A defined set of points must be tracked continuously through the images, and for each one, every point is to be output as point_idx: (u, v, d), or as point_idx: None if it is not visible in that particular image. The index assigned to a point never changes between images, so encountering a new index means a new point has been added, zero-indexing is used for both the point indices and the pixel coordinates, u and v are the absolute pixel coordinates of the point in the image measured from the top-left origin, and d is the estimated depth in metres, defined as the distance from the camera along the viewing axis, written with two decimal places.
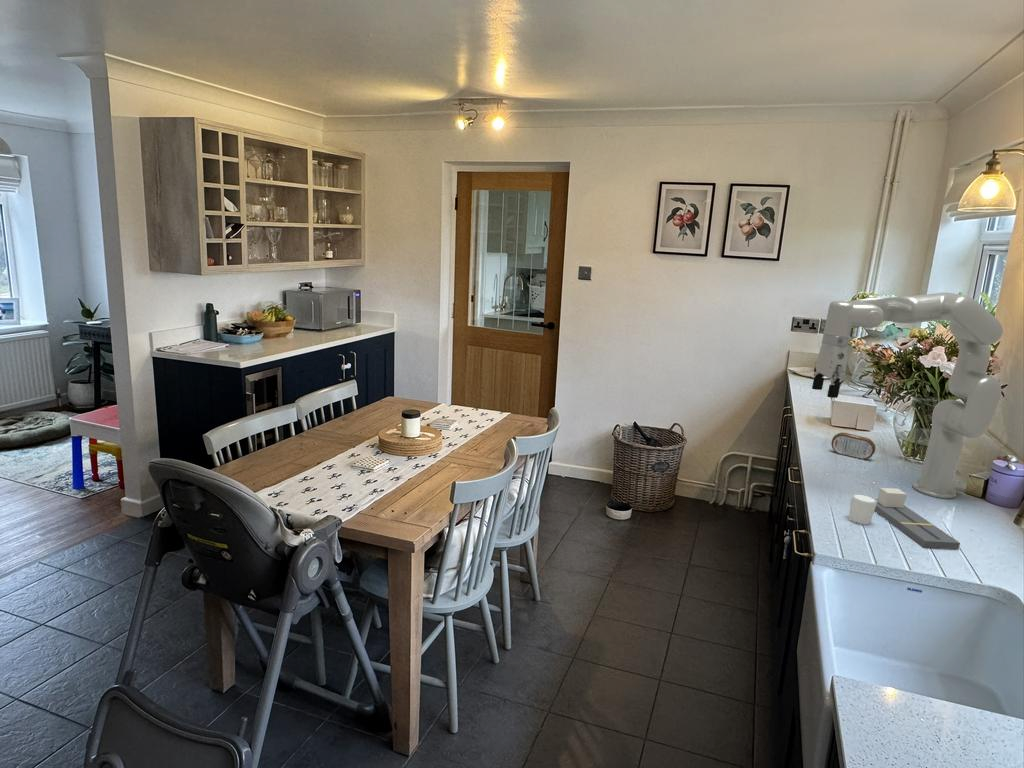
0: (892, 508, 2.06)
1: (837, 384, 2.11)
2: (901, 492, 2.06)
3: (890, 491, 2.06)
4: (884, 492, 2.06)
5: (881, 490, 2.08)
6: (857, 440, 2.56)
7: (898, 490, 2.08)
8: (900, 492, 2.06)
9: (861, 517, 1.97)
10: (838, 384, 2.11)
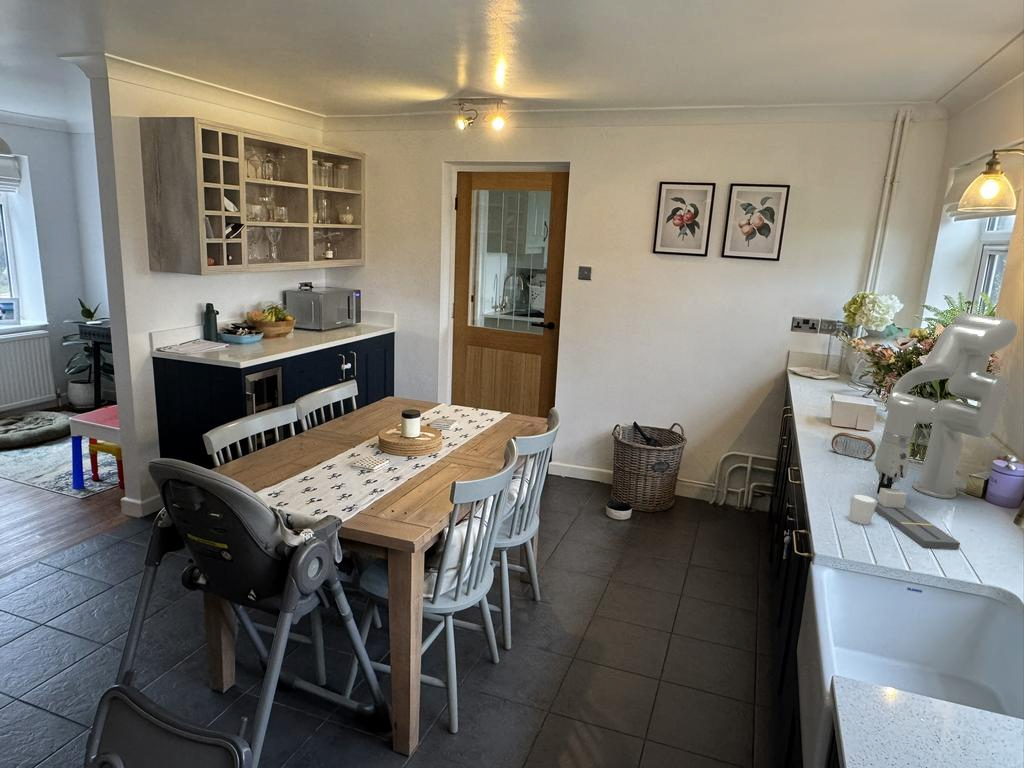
0: (892, 508, 2.06)
1: (889, 483, 2.09)
2: (901, 492, 2.06)
3: (890, 491, 2.06)
4: (884, 492, 2.06)
5: (881, 490, 2.08)
6: (857, 440, 2.56)
7: (898, 490, 2.08)
8: (900, 492, 2.06)
9: (861, 517, 1.97)
10: (890, 483, 2.09)
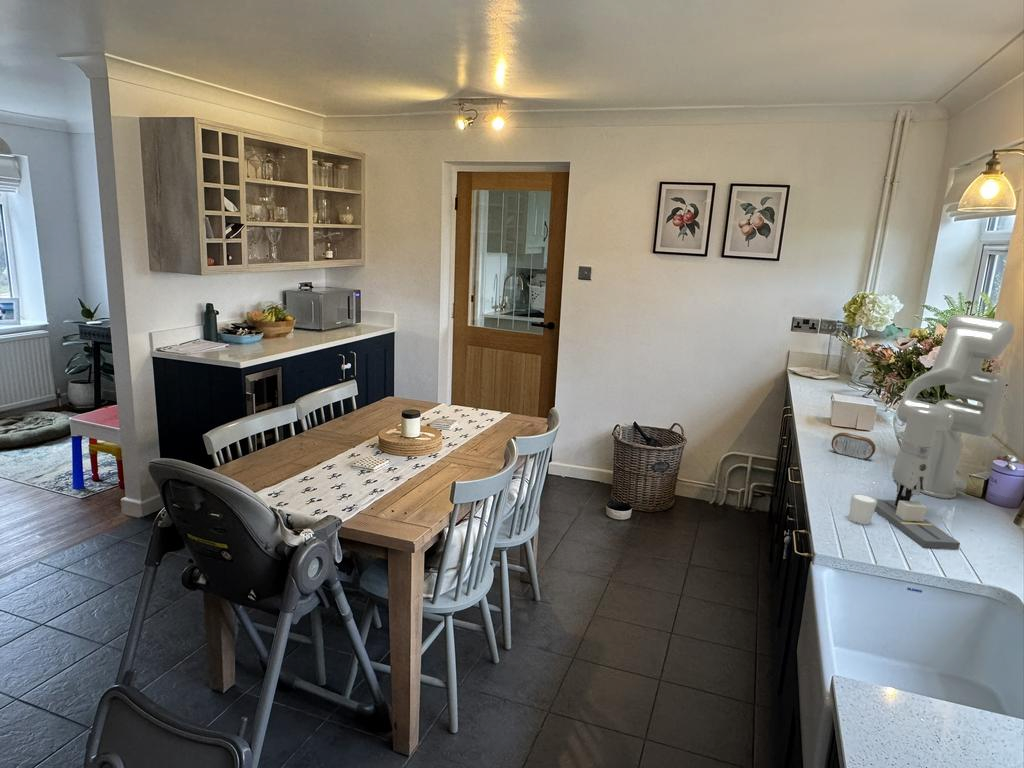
0: (892, 508, 2.06)
1: (908, 495, 2.00)
2: (921, 505, 1.97)
3: (909, 504, 1.97)
4: (903, 505, 1.97)
5: (900, 503, 1.99)
6: (857, 440, 2.56)
7: (918, 503, 1.99)
8: (920, 505, 1.97)
9: (861, 517, 1.97)
10: (909, 495, 2.00)
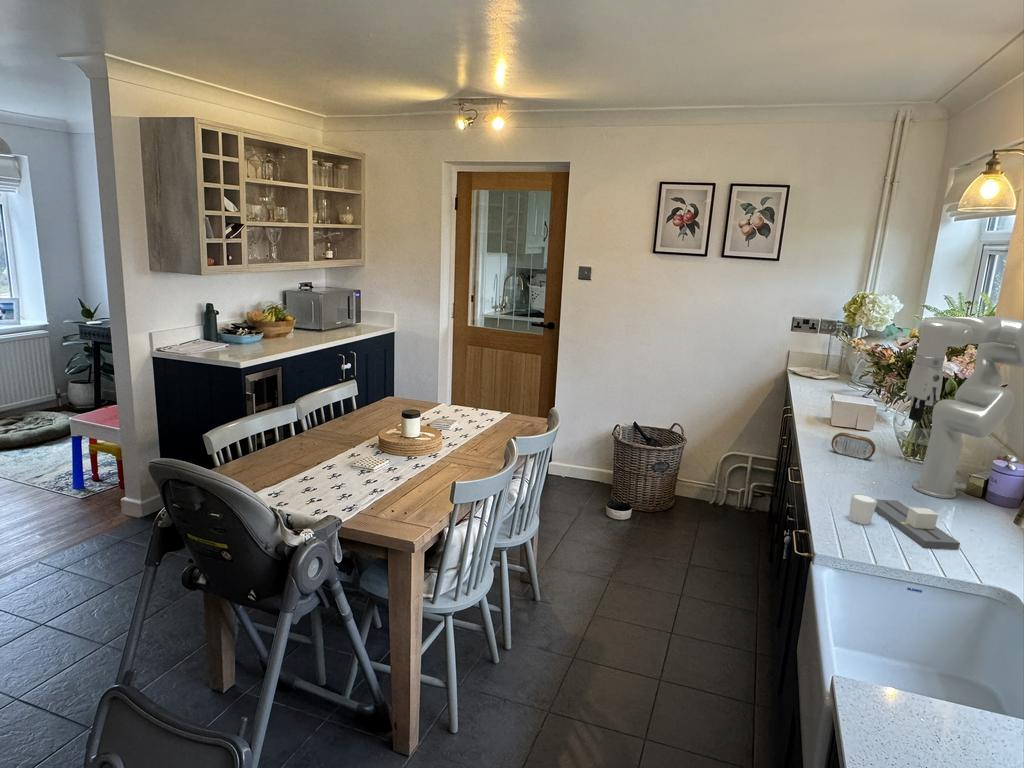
0: (892, 508, 2.06)
1: (922, 407, 2.08)
2: (932, 512, 1.93)
3: (920, 511, 1.93)
4: (914, 512, 1.93)
5: (910, 510, 1.94)
6: (857, 440, 2.56)
7: (929, 510, 1.94)
8: (931, 512, 1.92)
9: (861, 517, 1.97)
10: (923, 407, 2.08)
